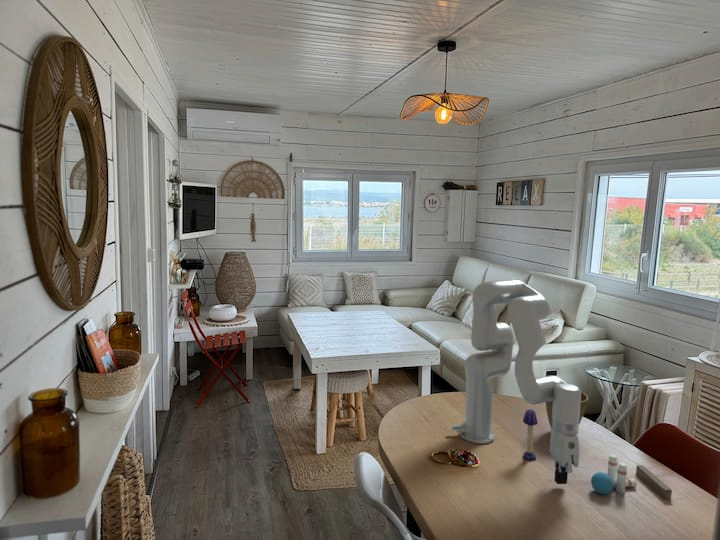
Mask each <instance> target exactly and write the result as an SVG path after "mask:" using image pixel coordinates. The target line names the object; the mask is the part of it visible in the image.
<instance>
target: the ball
mask: <svg viewBox="0 0 720 540" xmlns="http://www.w3.org/2000/svg"><path fill="white" fill-rule="evenodd" d="M607 474H608V473H607V472H606V473H605V472H602V471H600V472H596V473H594V474H593V475H592V477H591V479H590V484H591V488H592V489H593V490H594V491H595V492H597V493H598V494H602V495H608V494H610V493H611V492H612V491H613V489H614V487H613V481H612V479H611V477H610V476H609V475H607Z"/></svg>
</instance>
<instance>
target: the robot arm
mask: <svg viewBox="0 0 720 540" xmlns="http://www.w3.org/2000/svg"><path fill="white" fill-rule="evenodd" d="M503 305H504V306H505V305H507V307H506V309H507V314H508V317H509V320H510V323H511V327H512V328H511V327H510V325H508V324H507V323H506V322H502V321H499V322H498V317H499V316H498V311H497V308H496V306H503ZM472 309H473V310H472V311H473V314H472V325H471V334H470V339H471V340H470V342H471V346H472V347H473V349H474V350H476V351H480V352H476V353H473V354H470V355H469V356H467V357H466V359H465V361H464V373H465V381H466V383H465V384H466V386H465V412H464V413H465V414H464V421H462V423H460V424H452V425H451V430H452V431H456V433H459V434H460V435H459V436H460V437H461V438H462V439H463V440H465V441H467V442H470V443H473V444H477V445H478V444H481V445H482V444H483V445H485V444H490V443H492V442H494V441H495V438H496V433H495V432H494V431H492V416H493V397H494V393H493V392H494V390H493V387H492V384H491V383H490V381H489V379H492V378H498V377H504V376H506V375H507V374H508V373H509V371H510V370H511V366H512V359H513V349H514V336H515V339H516V342H517V345H518V350H517V353H516V356H515V363H514V376H515V380H516V382H517V383H516V384H517V387H518V390H519V392H520V394H521V396H522V398H523V400H525V402H527V403H529V404H531V405H538V404H539V405H540V404H544V403H546V402H548V401H553V409H552V423H551V427H550V430H551V429H552V431H551V433H550V439H549V452H550V454H551V456H552V457H553V458H554V468H555V469H554V482H555V483H556V484H557V485H567V483H568V474H573V466H574V468H578V467H579V460H580V459H579V457H580V453H579V452H580V443H579V442H580V441H579V436H578V434H579V427H580V424H579V415H580V402H581V392H582V391H581V389H580V388H579V387H578V386H577V385H574V384H573V383H568V382H566V381H564V380H563V379H562V378H561V377H559V376H557V375H545V376H541V377H536V376H535V374H534V369H533V368H534V366H533V361H534V359H535V358H534V357H535V356H536V354H537V352H539V350H540V349H541V348H543V346H545V344H546V337H545V334H544V331H543V329H542V326H541V322H540V321H542V320H544V319H546V318H547V317H548V316H549V314H550V312H551V311H550V310H551V309H550V304H549V302H548V300H547V298H546V297H544V296H543V294H541V293H540V292H538V291H536V290H535V289H534V288H532V287H531V286H530V285H527V284H526V283H525V282H523V281H522V280H518V279H505V280H500V279H499V280H491V281H485V282H481V283H480V284H478V285H476V287H475V288H474V290H473V292H472ZM513 332H514V334H513ZM483 351H484V352H483Z"/></svg>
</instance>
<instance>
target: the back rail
mask: <svg viewBox="0 0 720 540" xmlns="http://www.w3.org/2000/svg"><path fill="white" fill-rule="evenodd" d="M635 469H636V470H635V475H636V476H637V477H639V478H640V479H641V480H642V481H643V482H644V483H645V484H646V485H647V486H649V487H650V488H651V489H652V490H653V491H654V492H655V493H656V494H658V495H659V496H660V497H661V498H662V499H663V500H668V501H669V500H672V494H673V492H672V491H673V490H672V489H671V487H669V486H668V485H667V484H666V483H664V482H663V481H662V480H661V479H659V478H658V477H657V475H655V474H654V473H653V472H651V471H650V470H649V469H648V468H647V467H646V466H644V465H643V464H641V465H640V464H639V465H637V464H636V468H635Z"/></svg>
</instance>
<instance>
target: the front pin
mask: <svg viewBox="0 0 720 540" xmlns="http://www.w3.org/2000/svg"><path fill="white" fill-rule="evenodd" d="M612 481H613V488H616V483H617V478H616V479H612ZM636 487H637V481H636V479H635V478H630V477H629V478H627V477H626V484H625V488H636Z"/></svg>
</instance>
